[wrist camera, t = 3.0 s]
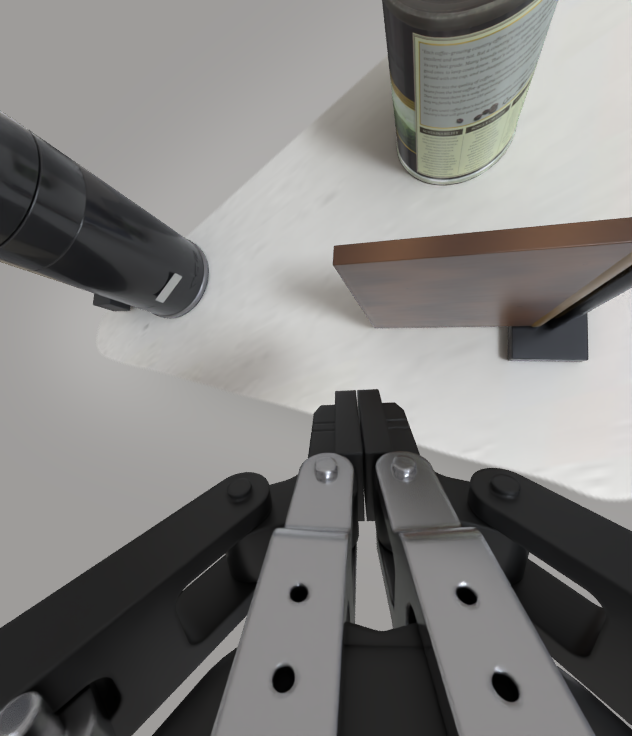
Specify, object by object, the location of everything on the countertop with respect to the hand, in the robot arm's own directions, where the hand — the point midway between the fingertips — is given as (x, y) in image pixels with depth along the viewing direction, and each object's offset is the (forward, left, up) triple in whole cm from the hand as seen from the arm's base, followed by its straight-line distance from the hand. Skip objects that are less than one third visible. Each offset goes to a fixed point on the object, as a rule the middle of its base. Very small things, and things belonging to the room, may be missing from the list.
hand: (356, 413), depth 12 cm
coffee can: (+4, +25, -19) cm, 32 cm away
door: (+4, +7, -17) cm, 19 cm away
